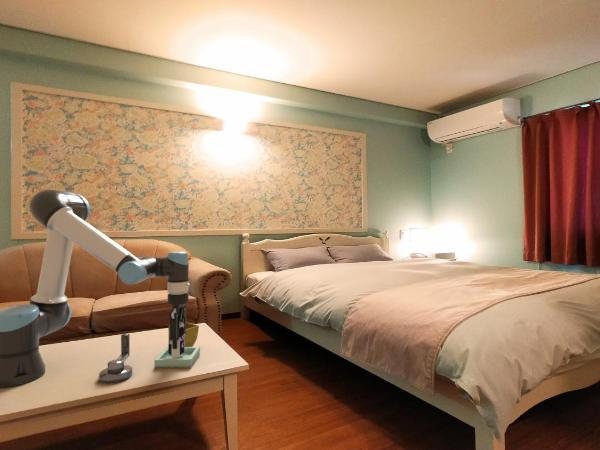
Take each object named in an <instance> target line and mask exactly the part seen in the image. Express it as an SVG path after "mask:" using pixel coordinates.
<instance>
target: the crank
mask: <svg viewBox="0 0 600 450" xmlns="http://www.w3.org/2000/svg"><path fill="white" fill-rule="evenodd" d="M130 335H131V334H130V333H127V332H126V333H122V334H120V354H119V356H118V357H117V358H116V359H112V360H110V361H108V362H107V368H108V373H109V374H116V373H120V372H122V371H124V365H125V362H126V361H127V359H128V358H129V357H130V353H131V352H130V339H131V338H130Z"/></svg>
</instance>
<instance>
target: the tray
mask: <svg viewBox="0 0 600 450" xmlns="http://www.w3.org/2000/svg"><path fill="white" fill-rule="evenodd" d="M200 355H201V347H200V346H192V347H185V350H184V353H183V354H182V355H181V356H180V357H172V356H171V355H169V353H168V347H165V349H164V350H163V351H161V352H160V354H159V355H157V357H156V358H155V359H154V369H191V368H192V367H193V366H194V364H195V363H196V361H197V360H198V358H199V357H200Z"/></svg>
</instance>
